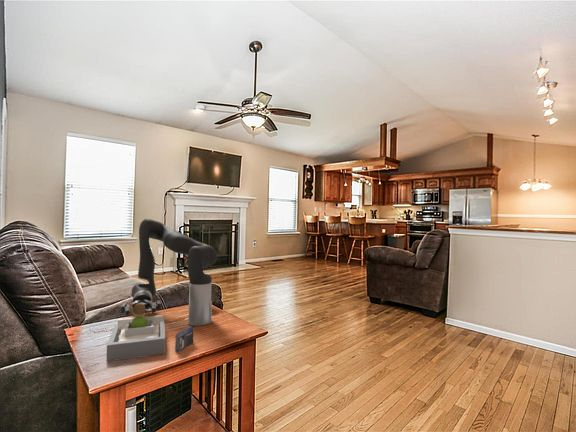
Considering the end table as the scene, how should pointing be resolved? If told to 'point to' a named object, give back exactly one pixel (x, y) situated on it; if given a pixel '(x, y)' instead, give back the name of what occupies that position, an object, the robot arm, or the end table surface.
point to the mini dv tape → (184, 339)
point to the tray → (141, 332)
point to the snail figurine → (138, 315)
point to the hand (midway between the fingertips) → (140, 311)
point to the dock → (135, 345)
